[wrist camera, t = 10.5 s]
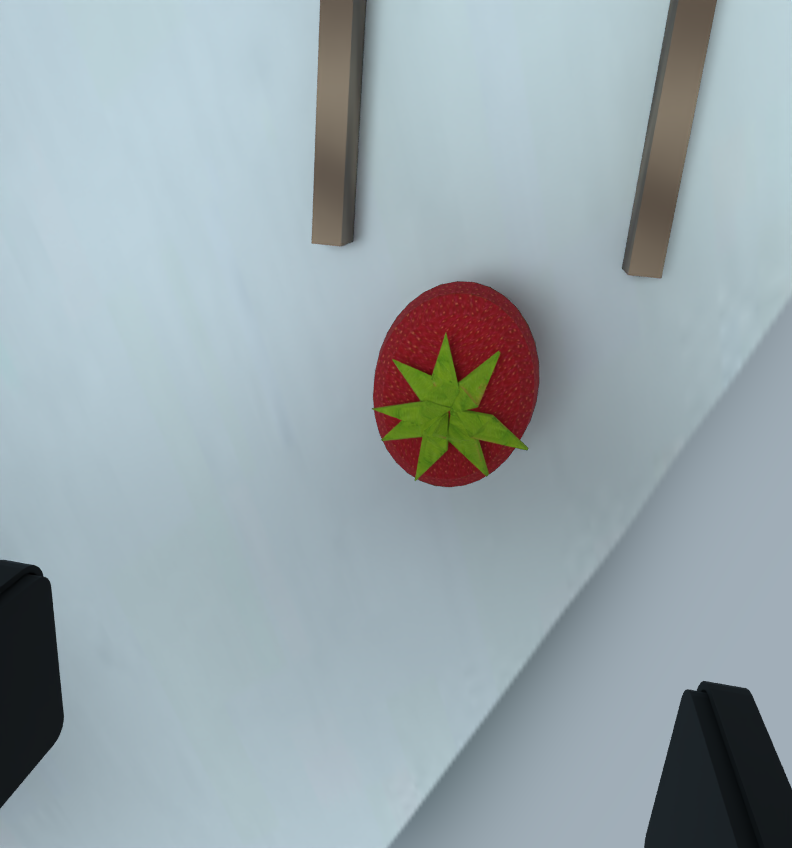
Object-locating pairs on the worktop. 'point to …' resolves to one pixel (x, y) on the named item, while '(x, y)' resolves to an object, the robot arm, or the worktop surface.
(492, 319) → the strawberry
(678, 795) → the robot arm
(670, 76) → the frame
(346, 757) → the worktop surface
